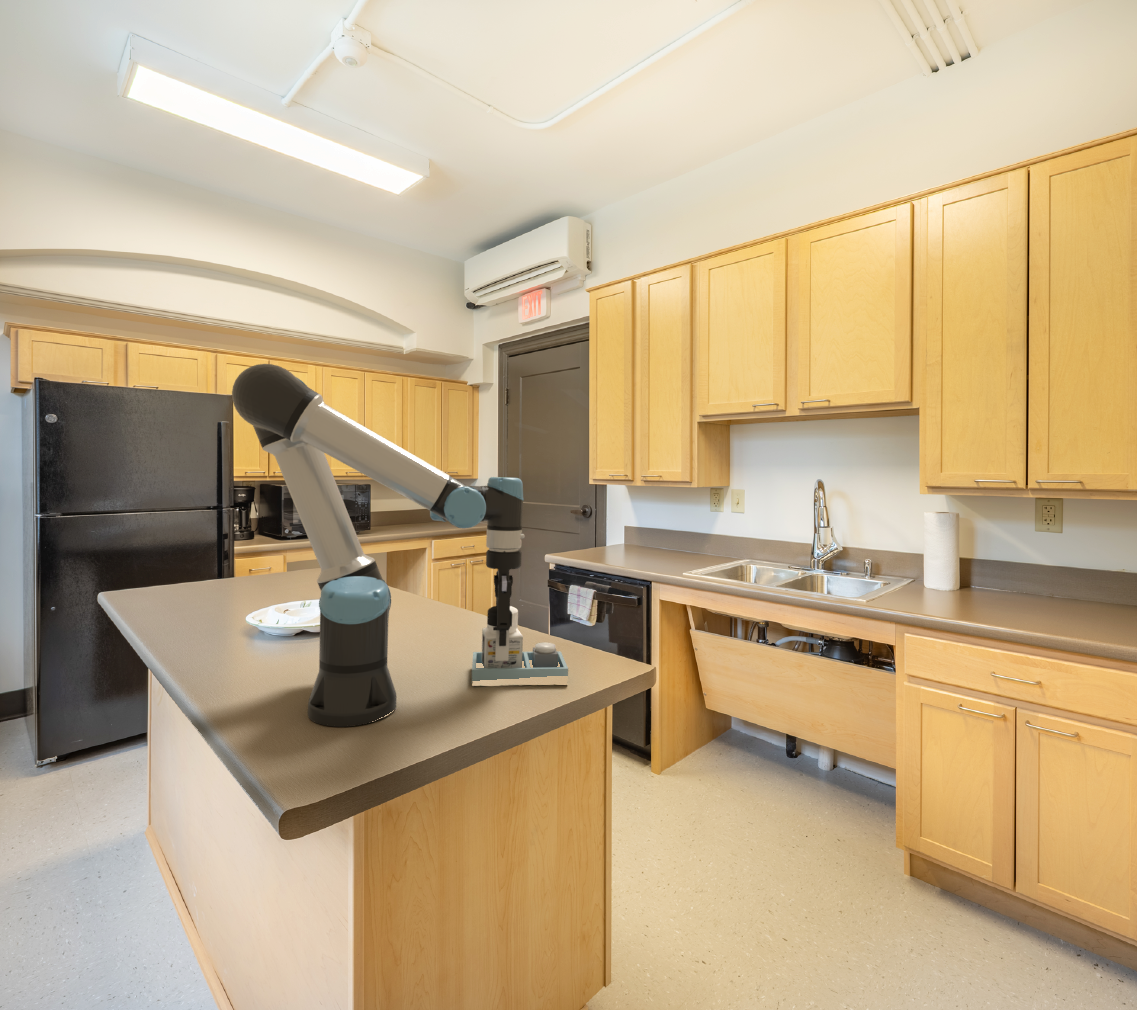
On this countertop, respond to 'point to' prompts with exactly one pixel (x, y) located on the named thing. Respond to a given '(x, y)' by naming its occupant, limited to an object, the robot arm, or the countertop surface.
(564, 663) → the tray
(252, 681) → the countertop surface
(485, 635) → the container
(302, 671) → the countertop surface
